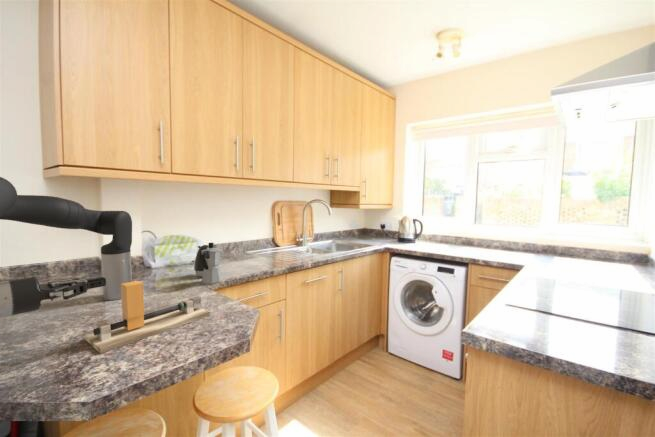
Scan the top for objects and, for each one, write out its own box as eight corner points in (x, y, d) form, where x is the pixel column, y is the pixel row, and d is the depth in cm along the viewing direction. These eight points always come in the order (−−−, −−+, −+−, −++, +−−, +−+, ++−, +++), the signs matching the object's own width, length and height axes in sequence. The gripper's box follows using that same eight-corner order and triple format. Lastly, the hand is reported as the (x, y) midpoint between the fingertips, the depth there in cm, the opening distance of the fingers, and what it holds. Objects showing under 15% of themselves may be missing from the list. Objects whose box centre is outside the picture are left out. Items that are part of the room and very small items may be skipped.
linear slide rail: (85, 339, 79) (84, 321, 78) (190, 307, 102) (189, 293, 102) (100, 353, 72) (99, 333, 71) (209, 315, 95) (209, 300, 94)
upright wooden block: (123, 326, 82) (120, 283, 81) (138, 322, 85) (136, 280, 85) (128, 330, 80) (126, 286, 79) (144, 325, 83) (142, 283, 82)
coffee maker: (208, 278, 140) (207, 240, 139) (227, 278, 140) (226, 240, 138) (193, 287, 125) (192, 245, 124) (213, 287, 125) (212, 245, 123)
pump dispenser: (209, 272, 151) (208, 242, 150) (221, 275, 145) (220, 244, 144) (189, 276, 143) (188, 245, 142) (201, 279, 137) (200, 247, 136)
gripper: (10, 286, 59) (113, 270, 72) (2, 276, 67) (96, 263, 80) (13, 323, 59) (114, 300, 73) (4, 309, 67) (97, 290, 81)
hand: (104, 281), depth 77 cm, fingers closed
